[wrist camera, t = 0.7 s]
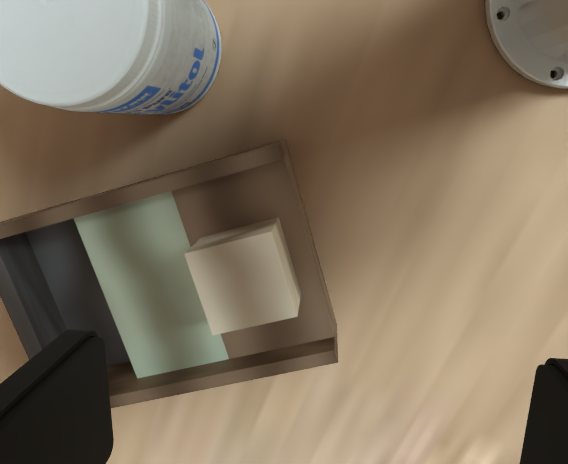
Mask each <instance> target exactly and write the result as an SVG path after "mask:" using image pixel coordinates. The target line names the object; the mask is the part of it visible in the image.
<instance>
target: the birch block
mask: <svg viewBox="0 0 568 464" xmlns="http://www.w3.org/2000/svg"><path fill="white" fill-rule="evenodd" d="M184 255H185V258H186V261H187V263H188V266H189V269H190V272H191V275H192V278H193V281H194V284H195V286H196V289H197V292H198V295H199V298H200V301H201V304H202V306H203V309H204V312H205V315H206V318H207V321H208V324H209V327H210V329H211V332H212V335H217V334H221V333H226V332H230V331H235V330H239V329H244V328H249V327H253V326H258V325H262V324H267V323H271V322H276V321H280V320H285V319H289V318H294V317H297V316H298V310H299V304H300V297H301V291H300V288H299V284H298V281H297V278H296V274H295V271H294V267H293V264H292V261H291V257H290V254H289V250H288V247H287V244H286V240H285V237H284V233H283V230H282V227H281V223H280V220H279V217H278V218H274V219H270V220H266V221H263V222H259V223H255V224H251V225H247V226H243V227H240V228H236V229H232V230H228V231H224V232H220V233H217V234H213V235H209V236H205V237H201V238H200V239H199V240H198V241H197V242H196V243H195V244H194V245H193V246H192V247H191V248H190V249H189V250H188V251H186V252H185V253H184Z"/></svg>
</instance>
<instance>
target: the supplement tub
mask: <svg viewBox="0 0 568 464" xmlns="http://www.w3.org/2000/svg"><path fill="white" fill-rule="evenodd" d="M221 53H222V44H221V36H220V31H219V27H218V24H217V22H216V19H215V17H214V15H213V13H212V11H211V9H210V8H209V6H208V5H207V3H206V2H205V1H204V0H0V85H1V86H3V87H4V88H5V89H7V90H8V91H10V92H12V93H13V94H15V95H17V96H19V97H21V98H24V99H26V100H29V101H31V102H34V103H38V104H42V105H47V106H51V107H55V108H59V109H63V110H68V111H79V112H98V113H124V114H154V115H166V114H173V113H177V112H180V111H183V110H186V109H188V108H189V107H191V106H193V105H194V104H196V103H197V102H198V101H199V100H201V99H202V98H203V97H204V96H205V94H206V93H207V92H208V91H209V89H210V88H211V86H212V84H213V82H214V80H215V78H216V76H217V73H218V70H219V65H220V61H221Z"/></svg>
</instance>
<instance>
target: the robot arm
mask: <svg viewBox="0 0 568 464" xmlns="http://www.w3.org/2000/svg"><path fill="white" fill-rule="evenodd" d="M485 8H486V17H487V25H488V28H489V31H490V34H491V37H492V40H493V42H494V44H495V46H496V48H497V49H498V51H499V53H500V54H501V56H502V57H503V58H504V60H505V61H506V62H507V63H508V64H509V65H510V66H511V67H512V68H513V69H514V70H515V71H517V72H518V73H519V74H521V75H522V76H524V77H525V78H527V79H529V80H531V81H534V82H536V83H538V84H541V85H544V86H549V87H554V88H559V89H568V0H486V2H485ZM497 13H501V14H502V18H501V20H499V19H498V18H497ZM551 71H553V72H554V77H553V78H551V76H550V73H551ZM112 448H113V430H112V418H111V407H110V396H109V385H108V374H107V363H106V351H105V343H104V340H103V339H102V338H98V336H97V334H96V332H95V331H89V330H72V329H68V330H66V331H64V332H63V333H62V334H61V335H59V336H58V337H57V338H56V339H55V340H53V341H52V342H51V343H50V344H48V345H47V346H46V347H45V348H44V349H42V350H41V351H40V352H39V353H38V354H36V355H35V356H34V357H33V358H31V359H30V360H29V361H28V362H27V363H25V364H24V365H23V366H22V367H20V368H19V369H18V370H17V371H16V372H14V373H13V374H12V375H11V376H9V377H8V378H7V379H6V380H5V381H3V382H2V383H1V384H0V464H106V462H107V461H108V459H109V457H110V455H111V452H112ZM520 464H568V359H557V358H550V359H548V360H547V361H546V363H545V365H539V366H538V367H537V370H536V374H535V380H534V386H533V391H532V397H531V403H530V408H529V414H528V420H527V426H526V431H525V437H524V443H523V448H522V454H521V460H520Z"/></svg>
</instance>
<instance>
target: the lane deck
mask: <svg viewBox="0 0 568 464" xmlns="http://www.w3.org/2000/svg"><path fill="white" fill-rule="evenodd" d="M278 217H279V220H280V223H281V227H282V230H283V233H284V237H285V240H286V244H287V247H288V250H289V254H290V257H291V261H292V264H293V267H294V271H295V274H296V278H297V281H298V284H299V288H300V291H301V297H300V304H299V310H298V316H297V317H294V318H289V319H285V320H280V321H276V322H271V323H267V324H262V325H258V326H253V327H249V328H244V329H239V330H235V331H230V332H226V333H221V334H217V335H212V332H211V329H210V327H209V324H208V321H207V318H206V315H205V312H204V309H203V306H202V304H201V301H200V298H199V295H198V292H197V289H196V286H195V284H194V281H193V278H192V275H191V272H190V269H189V266H188V263H187V261H186V258H185V255H184V253H185V252H186V251H188V250H189V249H190V248H191V247H192V246H193V245H194V244H195V243H196V242H197V241H198V240H199V239H200V238H201V237H205V236H209V235H213V234H217V233H220V232H224V231H228V230H232V229H236V228H240V227H243V226H247V225H251V224H255V223H259V222H263V221H266V220H270V219H274V218H278ZM0 296H1V298H2V300H3V302H4V305H5V307H6V309H7V311H8V313H9V316H10V318H11V320H12V322H13V324H14V327H15V329H16V331H17V333H18V335H19V338H20V340H21V342H22V344H23V347H24V349H25V351H26V353H27V355H28V358H29V360H30V359H31V358H33V357H34V356H35V355H36V354H38V353H39V352H40V351H41V350H42V349H44V348H45V347H46V346H47V345H48V344H50V343H51V342H52V341H53V340H55V339H56V338H57V337H58V336H59V335H61V334H62V333H63V332H64V331H66V330H68V329H72V330H89V331H95V332H96V334H97V336H98V338H102V339H103V340H104V343H105V351H106V363H107V374H108V385H109V396H110V407H111V408H114V407H119V406H124V405H129V404H134V403H139V402H144V401H149V400H154V399H159V398H164V397H169V396H174V395H179V394H184V393H189V392H194V391H199V390H204V389H209V388H213V387H218V386H223V385H228V384H233V383H238V382H243V381H248V380H253V379H258V378H263V377H268V376H273V375H278V374H283V373H288V372H293V371H298V370H303V369H308V368H313V367H318V366H323V365H328V364H332V363H337V362H338V347H337V324H336V320H335V317H334V313H333V310H332V306H331V302H330V299H329V295H328V292H327V288H326V284H325V281H324V277H323V274H322V270H321V267H320V263H319V259H318V256H317V252H316V249H315V245H314V242H313V238H312V234H311V231H310V227H309V224H308V220H307V217H306V213H305V209H304V206H303V202H302V199H301V195H300V192H299V188H298V184H297V181H296V177H295V174H294V170H293V167H292V163H291V159H290V156H289V152H288V149H287V145H286V142H285V140H283V141H279V142H276V143H272V144H269V145H265V146H262V147H258V148H255V149H251V150H248V151H244V152H241V153H238V154H234V155H231V156H227V157H224V158H220V159H217V160H213V161H210V162H206V163H203V164H199V165H196V166H192V167H189V168H186V169H182V170H179V171H175V172H172V173H168V174H165V175H161V176H158V177H154V178H151V179H147V180H144V181H141V182H137V183H134V184H130V185H127V186H123V187H120V188H116V189H113V190H109V191H106V192H102V193H99V194H96V195H92V196H89V197H85V198H82V199H78V200H75V201H71V202H68V203H64V204H61V205H57V206H54V207H50V208H47V209H44V210H40V211H37V212H33V213H30V214H26V215H23V216H19V217H16V218H12V219H9V220H6V221H3V222H0Z"/></svg>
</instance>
